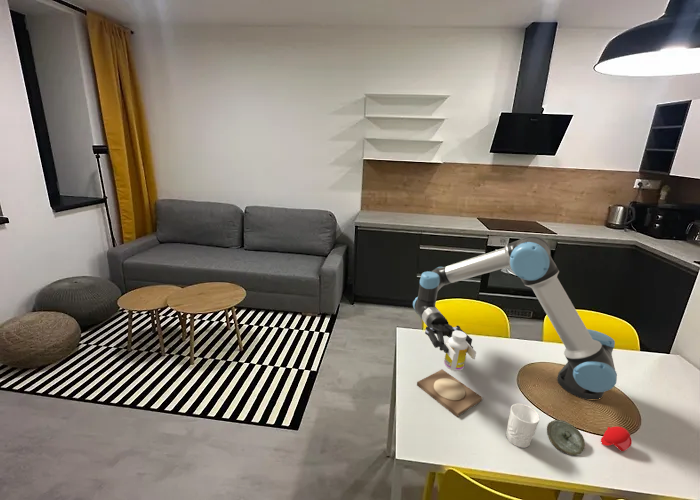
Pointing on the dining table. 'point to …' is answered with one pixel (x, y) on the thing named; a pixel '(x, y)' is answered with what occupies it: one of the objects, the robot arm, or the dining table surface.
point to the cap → (617, 438)
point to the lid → (565, 437)
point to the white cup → (521, 425)
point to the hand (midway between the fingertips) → (464, 356)
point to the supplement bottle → (457, 351)
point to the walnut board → (449, 392)
